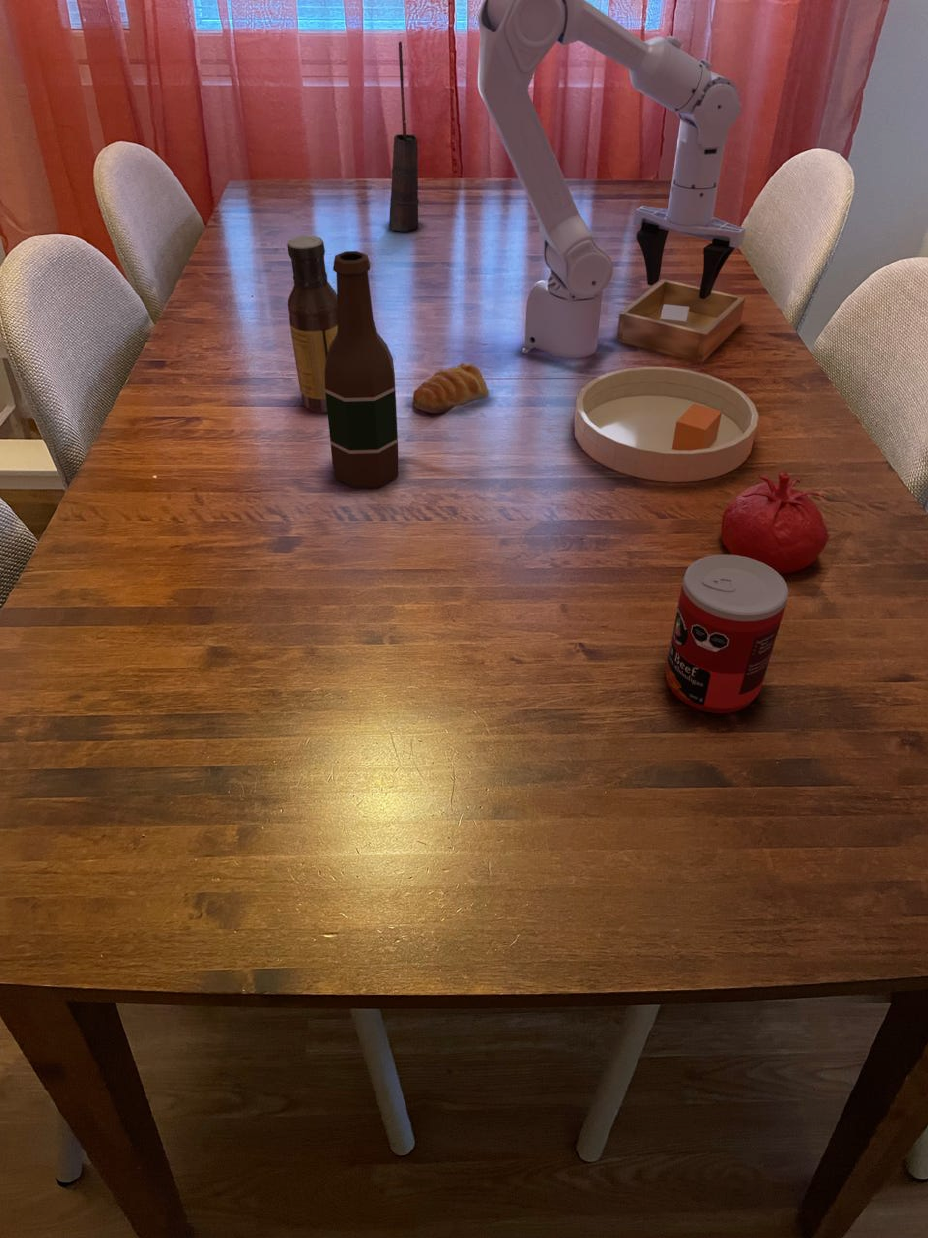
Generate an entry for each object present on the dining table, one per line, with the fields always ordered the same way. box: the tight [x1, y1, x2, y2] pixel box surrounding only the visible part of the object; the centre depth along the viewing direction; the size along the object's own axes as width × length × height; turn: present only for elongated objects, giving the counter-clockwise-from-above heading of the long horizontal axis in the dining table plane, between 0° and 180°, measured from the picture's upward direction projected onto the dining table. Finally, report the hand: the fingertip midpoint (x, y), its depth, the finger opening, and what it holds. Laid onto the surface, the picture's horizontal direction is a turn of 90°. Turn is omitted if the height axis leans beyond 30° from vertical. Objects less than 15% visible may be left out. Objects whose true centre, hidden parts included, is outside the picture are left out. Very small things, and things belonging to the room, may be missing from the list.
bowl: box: [573, 366, 760, 483], centre depth 110 cm, size 20×20×4 cm
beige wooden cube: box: [660, 304, 690, 327], centre depth 130 cm, size 4×5×4 cm
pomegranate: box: [720, 471, 830, 575], centre depth 91 cm, size 10×10×9 cm
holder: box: [615, 278, 746, 364], centre depth 132 cm, size 13×15×4 cm
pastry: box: [412, 362, 489, 415], centre depth 117 cm, size 9×7×4 cm
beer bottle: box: [325, 250, 399, 489], centre depth 98 cm, size 8×8×24 cm
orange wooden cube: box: [672, 404, 722, 451], centre depth 108 cm, size 4×5×4 cm
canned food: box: [665, 554, 789, 714], centre depth 77 cm, size 8×8×11 cm
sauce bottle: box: [286, 235, 338, 414], centre depth 111 cm, size 6×6×20 cm
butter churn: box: [388, 40, 420, 233], centre depth 156 cm, size 9×10×28 cm
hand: (678, 289), depth 127 cm, fingers open, 7 cm apart
